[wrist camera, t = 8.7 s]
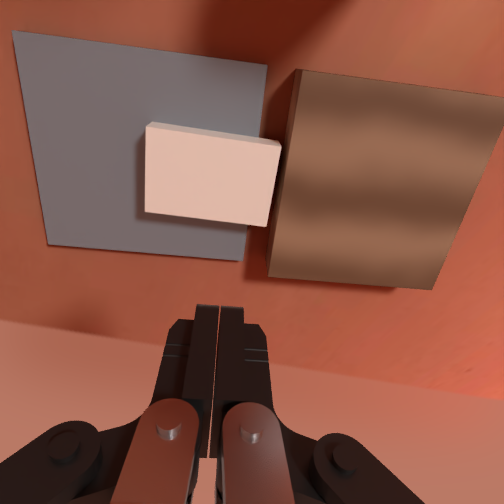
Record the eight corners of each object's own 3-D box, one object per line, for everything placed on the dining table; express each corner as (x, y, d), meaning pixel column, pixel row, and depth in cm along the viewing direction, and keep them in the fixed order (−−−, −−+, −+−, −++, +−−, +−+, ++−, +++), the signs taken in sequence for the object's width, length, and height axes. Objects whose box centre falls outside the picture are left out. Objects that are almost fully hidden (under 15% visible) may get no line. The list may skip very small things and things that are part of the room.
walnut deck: (295, 68, 24) (302, 70, 22) (486, 94, 26) (515, 99, 23) (265, 258, 32) (268, 276, 29) (416, 271, 33) (431, 290, 30)
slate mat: (18, 30, 23) (11, 30, 22) (266, 64, 24) (267, 65, 24) (52, 239, 30) (48, 244, 29) (242, 256, 31) (243, 260, 31)
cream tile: (152, 121, 25) (145, 126, 23) (278, 140, 26) (281, 146, 24) (150, 201, 28) (144, 211, 26) (264, 216, 29) (266, 226, 27)
